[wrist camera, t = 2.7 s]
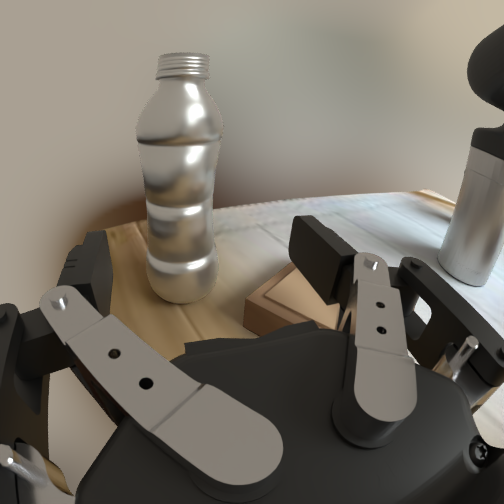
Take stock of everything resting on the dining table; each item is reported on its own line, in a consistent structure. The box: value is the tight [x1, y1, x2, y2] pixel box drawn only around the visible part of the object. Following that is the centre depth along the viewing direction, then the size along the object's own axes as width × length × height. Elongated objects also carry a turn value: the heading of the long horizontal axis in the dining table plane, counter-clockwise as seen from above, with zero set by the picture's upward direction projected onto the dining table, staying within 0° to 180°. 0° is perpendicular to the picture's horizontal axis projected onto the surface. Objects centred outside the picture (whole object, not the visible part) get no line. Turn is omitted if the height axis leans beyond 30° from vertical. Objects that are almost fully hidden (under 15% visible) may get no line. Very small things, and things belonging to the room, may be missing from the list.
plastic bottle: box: [136, 53, 224, 304], centre depth 21 cm, size 6×7×20 cm
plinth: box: [243, 262, 415, 336], centre depth 24 cm, size 12×12×3 cm
